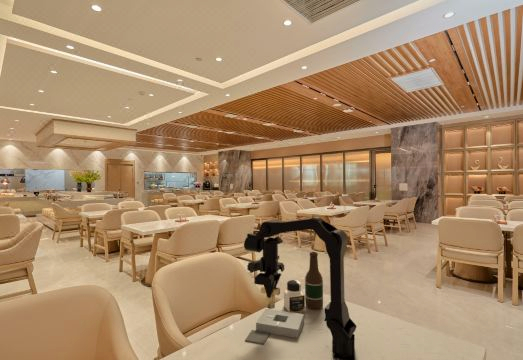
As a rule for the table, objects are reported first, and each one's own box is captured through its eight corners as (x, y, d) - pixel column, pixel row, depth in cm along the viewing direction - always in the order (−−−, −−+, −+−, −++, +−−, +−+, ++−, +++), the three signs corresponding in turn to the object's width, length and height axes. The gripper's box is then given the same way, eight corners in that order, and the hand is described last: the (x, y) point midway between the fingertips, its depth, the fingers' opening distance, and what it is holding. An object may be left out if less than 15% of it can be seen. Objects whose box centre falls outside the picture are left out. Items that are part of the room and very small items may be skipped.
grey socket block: (303, 321, 111) (303, 313, 111) (298, 337, 99) (298, 329, 99) (265, 315, 116) (265, 308, 116) (256, 330, 104) (256, 322, 104)
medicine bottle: (289, 313, 118) (289, 285, 118) (283, 306, 125) (283, 279, 125) (305, 311, 120) (304, 283, 120) (298, 304, 127) (298, 277, 127)
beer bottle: (323, 311, 120) (322, 255, 120) (304, 309, 121) (304, 254, 121) (322, 303, 127) (322, 250, 128) (305, 301, 129) (305, 250, 129)
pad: (269, 333, 102) (269, 332, 102) (263, 344, 96) (263, 343, 96) (251, 330, 104) (251, 329, 104) (244, 341, 98) (244, 339, 98)
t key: (263, 303, 107) (263, 285, 107) (280, 306, 105) (280, 287, 105) (260, 307, 104) (260, 288, 104) (278, 310, 102) (278, 290, 102)
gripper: (258, 246, 116) (258, 284, 116) (240, 258, 98) (240, 302, 98) (284, 248, 112) (284, 287, 112) (270, 261, 95) (270, 307, 95)
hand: (270, 295), depth 105 cm, fingers closed on t key, 3 cm apart
